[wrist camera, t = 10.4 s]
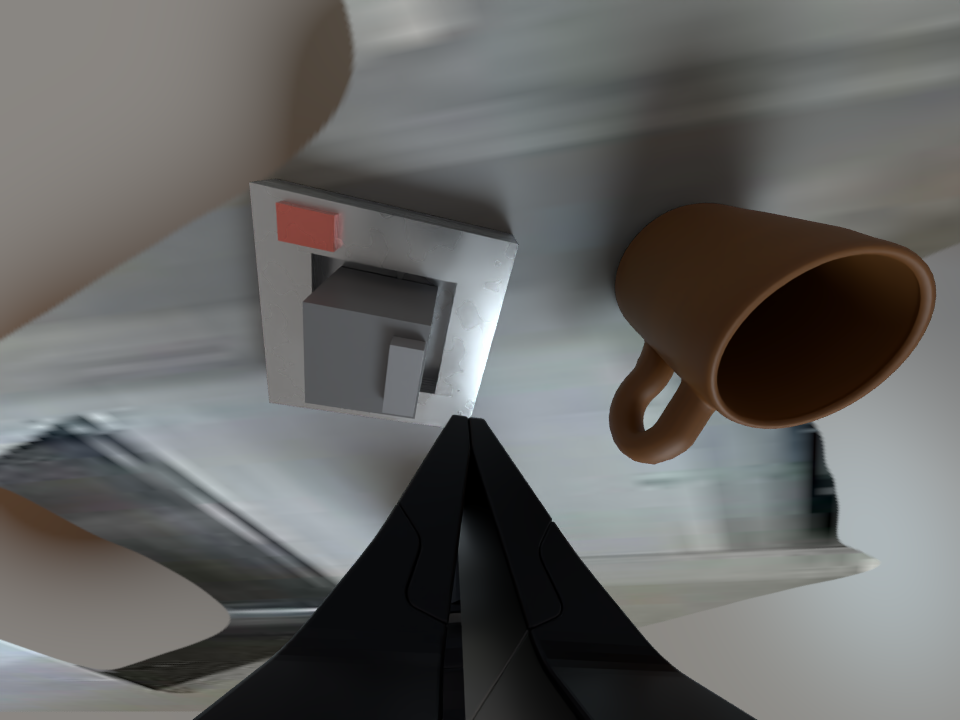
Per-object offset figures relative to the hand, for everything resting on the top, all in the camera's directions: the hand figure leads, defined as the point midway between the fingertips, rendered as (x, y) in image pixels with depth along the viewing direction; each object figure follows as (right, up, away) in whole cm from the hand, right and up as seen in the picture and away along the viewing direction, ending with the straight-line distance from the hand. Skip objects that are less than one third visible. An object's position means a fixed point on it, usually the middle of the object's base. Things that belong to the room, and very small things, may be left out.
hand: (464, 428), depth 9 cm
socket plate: (-5, +4, +12) cm, 13 cm away
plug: (-5, +4, +11) cm, 13 cm away
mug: (+10, +5, +12) cm, 17 cm away
